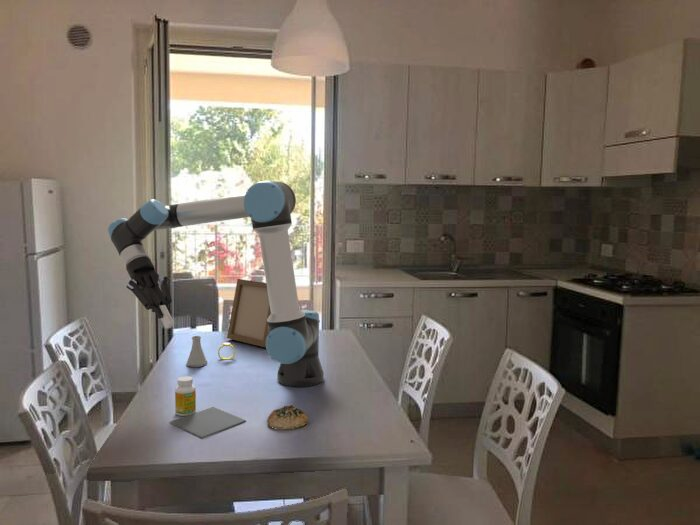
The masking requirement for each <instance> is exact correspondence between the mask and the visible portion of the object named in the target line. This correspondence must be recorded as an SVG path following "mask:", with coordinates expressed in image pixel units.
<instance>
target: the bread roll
mask: <svg viewBox="0 0 700 525" xmlns="http://www.w3.org/2000/svg"><path fill="white" fill-rule="evenodd" d="M266 422H267V425H268V427H269V428H271V427H273V428H276V429H293V430H296V429H295V428H297V429H299V428H300V427H305V426H306V425H307V424H308V423H309V420H308V417H307V414H306V413H305V411H303V410H302V409H299V408H298V407H297V406H294V405H293V404H291V405H284V406H282V407H280V408H277V409H274V410H273V411H272V412H271V413H270V414H269V415H268V417H267V420H266ZM305 424H306V425H305ZM304 425H305V426H304ZM273 428H272V429H273Z"/></svg>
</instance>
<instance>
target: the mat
mask: <svg viewBox="0 0 700 525" xmlns="http://www.w3.org/2000/svg"><path fill="white" fill-rule="evenodd" d="M245 422H247V420H246V419H244V418H242V417H239V416H236V415H235V414H232V413H229V412H227V411H224V410H222V409H219V408H217V407H215V406H212V407H209V408H205V409H202V410H200V411H198V412H195V413H194V414H191V415H188V416H181V417H180V418H176V419H174V420H171V421H169V424H170V423H171V425H173V426H175V427H177V428H178V429H181V430H183V429H184V431H185V430H186V432H187V431H188V432H187V433H189V432H190V433H189V434H191V433H192V435H193V436H196V437H198V438H200V439H205V438H207V437H210V436H213V435H215V434H217V432H218V433H220V432H223V431H225V430H229V429H230V427H231V428H233V427H235V426H238V425H241V424H243V423H245ZM222 430H223V431H222ZM214 433H215V434H214ZM212 434H213V435H212ZM209 435H210V436H209ZM204 437H205V438H204Z"/></svg>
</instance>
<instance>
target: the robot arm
mask: <svg viewBox="0 0 700 525" xmlns="http://www.w3.org/2000/svg"><path fill="white" fill-rule="evenodd" d="M296 202H297V199H296V194H295V192H294V190H293V188H292V187H291V186H290V185H288V184H287V183H285V182H283V181H275V180H274V181H273V180H270V179H269V180H262V181H258V182H256V183H253V184H252V185H251V186H249V188H248V189H247V190H246V192H245V193H241V194H235V195H228V196H222V197H215V198H209V199H200V200H195V201H188V202H181V203H176V204H167V205H164V204H163V203H162V202H160V201H159V200H157V199H154V198H153V199H149V200H148V201H146V203H143V204H142V205H141V207H140V208H139V209H138V210H136V211H135V212H134V213H133V214H132V215H131V216H130V217H129V218H128V219H127V218H118V219H116V220H115V221H114V220H113V221H112V222H111V223H110V224H109V225H108V227H107V232H108V233H107V234H109V238H110V241H111V243H112V244H113V245H114V247H115V249H116V251H117V253H118V255H119V257H120V260H121V261H122V263H123V266H124V267H125V270H126V272H127V273H128V275H129V277H130V278H131V280H129V281H128V283H127V285H126V288H127V289H128V290H129V291H131V292H132V293H133V294H134V296H135V297H136V299H138V301H139V302H140V303H141V304H142V306H143V307H144V308H145V309H146V310H151V312H152V313H155V315H156V317H157V318H158V319H160V320H161V322H162V324H163V326H164V328H165V329H166V330H169V329H171V328H172V327H173V326H174V324H175V321H174V319H173V317H172V311H171V309H170V307H169V306H170V305H171V304H172V302H173V299H172V295H171V291H170V289H169V284H168V281H169V277H168V276H164V277H162V276H160V274H159V273H158V272H157V271H156V269H155V265H154V263H153V262H152V260H151V258H150V256H149V253H148V251H147V250H146V249H145V247H144V244H143V241H144V239H146V238H147V237H148V236H149V235H150V234H151V233H152V232H154V231H157V230H158V231H159V230H167V229H168V230H169V229H176V228H180V227H181V228H182V227H188V226H189V227H190V226H194V225H195V226H196V225H201V224H209V223H216V222H223V221H231V220H237V219H243V218H250V219H251V220H250V221H251V227H252V230H253V231H254V232H256V233H257V234H258V238H259V244H260V249H261V250H260V251H261V258H262V264H263V268H264V269H263V270H264V276H265V283H266V284H267V291H268V297H269V304H270V310H271V314H270V316H269V317H268V319H267V324H268V331H269V334H268V336H267V339H266V347H265V348H266V351H267V354H268V356H269V357H270V358H271V359H273V360H274V361H275V362H277V363H279V367H278V371H277V376H276V378H277V379H276V380H277V382H278V383H280V384H281V385H284V386H288V387H298V388H299V387H311V386H315V385H318V384H321V383H322V382H323V381H324V369H323V366H322V364H321V361H320V357H319V356H320V355H319V348H320V347H319V346H320V345H319V344H320V316H319V313H318V312H317V311H315V310H308V309H307V310H306V309H300V305H299V297H298V290H297V283H296V277H295V270H294V264H293V256H292V249H291V244H290V243H291V242H290V237H289V236H290V235H289V229H290V228H291V226H292V225H293V224H292V223H293V222H292V215H291V214H292V213H293V212H294V209H295V207H296Z"/></svg>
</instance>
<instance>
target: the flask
mask: <svg viewBox="0 0 700 525" xmlns="http://www.w3.org/2000/svg"><path fill="white" fill-rule="evenodd" d="M201 338H202V336H201V335H193V336H191V340H192V344H191V350H190V352H189V355H188V358H187V361H186V364H185V366H187V367H192V368H197V367H200V368H201V367H203V366H206V365H207V364H208V360H207V358H206V355H205V352H204V350H203V348H202V344H201Z"/></svg>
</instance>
